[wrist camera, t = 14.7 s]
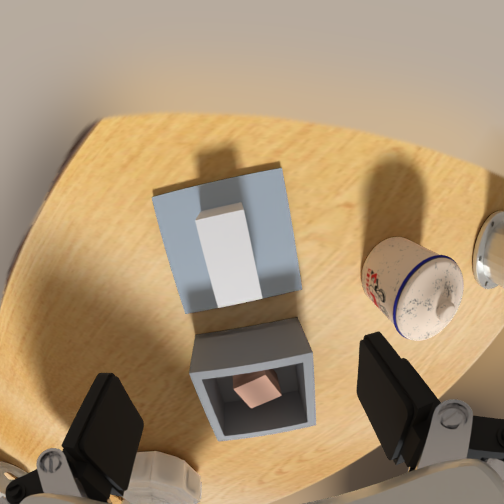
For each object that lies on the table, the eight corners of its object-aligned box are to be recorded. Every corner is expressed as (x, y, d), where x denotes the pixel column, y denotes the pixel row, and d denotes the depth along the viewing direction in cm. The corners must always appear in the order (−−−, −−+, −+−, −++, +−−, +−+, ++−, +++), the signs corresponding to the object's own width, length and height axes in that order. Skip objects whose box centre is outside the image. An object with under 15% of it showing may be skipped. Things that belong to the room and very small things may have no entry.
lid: (279, 167, 28) (292, 168, 22) (299, 285, 32) (314, 311, 26) (154, 196, 28) (136, 203, 22) (186, 308, 32) (179, 338, 26)
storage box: (297, 317, 32) (312, 352, 26) (304, 388, 36) (315, 424, 29) (195, 334, 32) (189, 373, 25) (218, 403, 36) (218, 441, 29)
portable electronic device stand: (-7, 450, 43) (-22, 479, 28) (47, 482, 46) (35, 515, 32) (15, 480, 49) (4, 505, 35) (64, 505, 53) (56, 533, 38)
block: (261, 353, 32) (265, 374, 29) (276, 373, 34) (281, 395, 30) (232, 367, 33) (233, 389, 29) (248, 386, 34) (251, 408, 30)
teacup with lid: (344, 267, 31) (396, 316, 20) (402, 218, 30) (469, 245, 19) (385, 330, 34) (430, 383, 23) (434, 287, 33) (488, 327, 22)
